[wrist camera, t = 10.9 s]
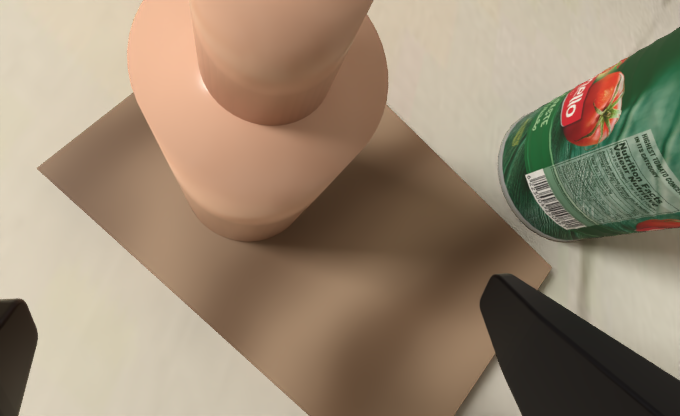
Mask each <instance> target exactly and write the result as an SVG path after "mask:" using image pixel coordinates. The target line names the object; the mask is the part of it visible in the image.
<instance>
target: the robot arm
mask: <svg viewBox="0 0 680 416" xmlns="http://www.w3.org/2000/svg"><path fill="white" fill-rule="evenodd" d="M479 303H480V311H481V314H482V317H483V319H484V322H485V325H486V328H487V331H488V334H489V336H490V339H491V342H492V345H493V348H494V351H495V353H496V356H497V359H498V362H499V364H500V367H501V370H502V372H503V375H504V377H505V379H506V381H507V384H508V386H509V388H510V390H511V392H512V394H513V397H514V399H515V401H516V403H517V405H518V407H519V409H520V412H521V414H522V416H680V381H679V380H678V379H676V378H675V377H673V376H672V375H670V374H668V373H667V372H665V371H664V370H662V369H661V368H659V367H657V366H656V365H654V364H653V363H651V362H650V361H648V360H646V359H645V358H643V357H642V356H640V355H639V354H637V353H635V352H634V351H632V350H631V349H629V348H628V347H626V346H624V345H623V344H621V343H620V342H618V341H617V340H615V339H613V338H612V337H610V336H609V335H607V334H606V333H604V332H602V331H601V330H599V329H598V328H596V327H595V326H593V325H591V324H590V323H588V322H587V321H585V320H584V319H582V318H580V317H579V316H577V315H576V314H574V313H573V312H571V311H569V310H568V309H566V308H565V307H563V306H562V305H560V304H558V303H557V302H555V301H554V300H552V299H551V298H549V297H547V296H546V295H544V294H543V293H541V292H540V291H538V290H536V289H535V288H533V287H532V286H530V285H529V284H527V283H525V282H524V281H522V280H521V279H519V278H518V277H516V276H514V275H513V274H509V273H503V274H494V275H492V276H491V277H490V279H489V281H488V283H487V285H486V287H485V289H484V291H483V294H482V296H481V298H480V302H479ZM37 340H38V333H37V328H36V326H35V323H34V321H33V318H32V316H31V313H30V311H29V308H28V306H27V304H26V302H25V301H24V300H22V299H0V416H18V415H19V411H20V407H21V403H22V400H23V396H24V392H25V388H26V384H27V380H28V376H29V373H30V369H31V365H32V361H33V357H34V353H35V349H36V346H37Z"/></svg>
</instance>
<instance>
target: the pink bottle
mask: <svg viewBox="0 0 680 416" xmlns="http://www.w3.org/2000/svg"><path fill="white" fill-rule="evenodd" d="M372 2H373V0H143V2H142V3H141V5H140V7H139V9H138V11H137V13H136V15H135V18H134V20H133V23H132V27H131V30H130V34H129V40H128V49H127V59H128V72H129V77H130V82H131V86H132V89H133V92H134V95H135V98H136V100H137V103H138V105H139V107H140V109H141V111H142V113H143V115H144V117H145V119H146V121H147V123H148V125H149V127H150V129H151V131H152V133H153V134H154V136H155V138H156V140H157V142H158V144H159V146H160V148H161V150H162V152H163V154H164V156H165V158H166V160H167V162H168V164H169V166H170V168H171V170H172V172H173V174H174V176H175V178H176V180H177V182H178V184H179V186H180V188H181V190H182V192H183V194H184V196H185V198H186V200H187V202H188V204H189V206H190V207H191V209H192V211H193V213H194V214H195V215H196V217H197V218H198V219H199V220H200V221H201V222H202V224H204V225H205V226H206V227H207V228H208V229H210V230H211V231H213V232H215V233H216V234H218V235H220V236H223V237H225V238H228V239H231V240H236V241H245V242H252V241H260V240H265V239H268V238H271V237H274V236H276V235H278V234H279V233H281V232H283V231H284V230H286V229H287V228H288V227H289V226H291V225H292V224H293V223H294V222H295V221H296V220H297V219H298V217H299V216H300V215H301V214H302V213H303V212H304V211H305V210H306V209H307V208H308V207H309V206H310V205H311V204H312V203H313V202H314V200H315V199H316V198H317V197H318V196H319V195H320V194H321V193H322V192H323V191H324V190H325V189H326V188H327V187H328V186H329V185H330V184H331V182H332V181H333V180H334V179H335V178H336V177H337V176H338V175H339V174H340V173H341V172H342V171H343V170H344V169H345V168H346V167H347V165H348V164H349V163H350V162H351V161H352V160H353V159H354V158H355V157H356V156H357V155H358V154H359V153H360V152H361V150H362V149H363V148H364V147H365V146H366V144H367V143H368V142H369V141H370V139H371V137H372V136H373V134H374V133H375V131H376V129H377V127H378V125H379V123H380V120H381V118H382V116H383V112H384V109H385V105H386V101H387V93H388V69H387V62H386V57H385V53H384V50H383V46H382V43H381V41H380V38H379V36H378V33H377V31H376V29H375V27H374V25H373V24H372V22H371V20H370V18H369V17H368V15H367V12H368V10H369V8H370V6H371V4H372Z"/></svg>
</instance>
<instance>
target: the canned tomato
mask: <svg viewBox="0 0 680 416" xmlns="http://www.w3.org/2000/svg"><path fill="white" fill-rule="evenodd" d="M498 173H499V180H500V184H501V187H502V190H503V193H504V196H505V198H506V200H507V202H508V204H509V206H510V208H511V209H512V211H513V212H514V213H515V214H516V216H517V217H518V218H519V220H520V221H522V222H523V223H524V224H525V225H526V226H527V227H528V228H529V229H531V230H532V231H534V232H535V233H537V234H539V235H540V236H543V237H545V238H548V239H551V240H555V241H562V242H569V241H578V240H581V239H586V238H598V237H604V236H616V235H621V234H631V233H637V232H646V231H653V230H663V229H669V228H680V27H679V28H677V29H676V30H674V31H673V32H672V33H670V34H668V35H666V36H664V37H662V38H660V39H658V40H656V41H655V42H654V43H652V44H651V45H649V46H647V47H645V48H643V49H641V50H639V51H637V52H636V53H635V54H633V55H632V56H630V57H628V58H625V59H623V60H621V61H620V62H619V63H617V64H616V65H614V66H612V67H610V68H608V69H606V70H604V71H603V72H602V73H600V74H598V75H596V76H594V77H592V78H590V79H589V80H588V81H586V82H584V83H582V84H580V85H578V86H577V87H575V88H574V89H572V90H570V91H568V92H566V93H564V94H563V95H562V96H560V97H557V98H555V99H554V100H552V101H551V102H549V103H547V104H545V105H543V106H542V107H540V108H539V109H537V110H535V111H534V112H531V113H529V114H527V115H525V116H523V117H521V118H520V119H519V120H518V121H516V122H515V123H514V124H513V125H512V126H511V127H510V129H509V130H508V131H507V133H506V134H505V136H504V139H503V141H502V143H501V146H500V151H499V156H498Z"/></svg>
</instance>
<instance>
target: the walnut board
mask: <svg viewBox="0 0 680 416" xmlns="http://www.w3.org/2000/svg"><path fill="white" fill-rule="evenodd" d="M37 169H38V170H39V171H40V172H41V173H42V174H43V175H44V176H45V177H47V178H48V179H49V180H50V181H51V182H52V183H53V184H54V185H55V186H57V187H58V188H59V189H60V190H61V191H62V192H63V193H64V194H65V195H66V196H68V197H69V198H70V199H71V200H72V201H73V202H74V203H75V204H76V205H77V206H79V207H80V208H81V209H82V210H83V211H84V212H85V213H86V214H87V215H88V216H90V217H91V218H92V219H93V220H94V221H95V222H96V223H97V224H98V225H100V226H101V227H102V228H103V229H104V230H105V231H106V232H107V233H108V234H109V235H111V236H112V237H113V238H114V239H115V240H116V241H117V242H118V243H119V244H120V245H122V246H123V247H124V248H125V249H126V250H127V251H128V252H129V253H130V254H132V255H133V256H134V257H135V258H136V259H137V260H138V261H139V262H140V263H141V264H143V265H144V266H145V267H146V268H147V269H148V270H149V271H150V272H151V273H152V274H154V275H155V276H156V277H157V278H158V279H159V280H160V281H161V282H162V283H163V284H165V285H166V286H167V287H168V288H169V289H170V290H171V291H172V292H173V293H175V294H176V295H177V296H178V297H179V298H180V299H181V300H182V301H183V302H184V303H186V304H187V305H188V306H189V307H190V308H191V309H192V310H193V311H194V312H195V313H197V314H198V315H199V316H200V317H201V318H202V319H203V320H204V321H205V322H207V323H208V324H209V325H210V326H211V327H212V328H213V329H214V330H215V331H216V332H218V333H219V334H220V335H221V336H222V337H223V338H224V339H225V340H226V341H227V342H229V343H230V344H231V345H232V346H233V347H234V348H235V349H236V350H237V351H238V352H240V353H241V354H242V355H243V356H244V357H245V358H246V359H247V360H248V361H250V362H251V363H252V364H253V365H254V366H255V367H256V368H257V369H258V370H259V371H261V372H262V373H263V374H264V375H265V376H266V377H267V378H268V379H269V380H270V381H272V382H273V383H274V384H275V385H276V386H277V387H278V388H279V389H280V390H281V391H283V392H284V393H285V394H286V395H287V396H288V397H289V398H290V399H291V400H293V401H294V402H295V403H296V404H297V405H298V406H299V407H300V408H301V409H302V410H304V411H305V412H306V413H307V414H308V415H309V416H454V415H455V413H456V412H457V410H458V409H459V407H460V406H461V404H462V403H463V401H464V400H465V398H466V397H467V395H468V394H469V392H470V391H471V389H472V388H473V386H474V385H475V383H476V382H477V380H478V379H479V377H480V376H481V374H482V373H483V371H484V370H485V368H486V367H487V365H488V363H489V362H490V360H491V359H492V357H493V356H494V354H495V351H494V348H493V345H492V342H491V339H490V336H489V334H488V331H487V328H486V325H485V322H484V319H483V317H482V314H481V311H480V303H479V302H480V298H481V296H482V294H483V291H484V289H485V287H486V285H487V283H488V281H489V279H490V277H491V276H492V275H494V274H503V273H509V274H513V275H514V276H516V277H518V278H519V279H521V280H522V281H524V282H525V283H527V284H529V285H530V286H532V287H533V288H535V289H536V290H538V288H539V287H540V285H541V284H542V282H543V281H544V279H545V278H546V276H547V275H548V273H549V272H550V270H551V269H552V267H551V266H550V265H549V264H548V263H547V262H546V261H545V260H544V259H543V258H542V257H541V256H540V255H539V254H538V253H537V252H536V251H535V250H534V249H533V248H532V247H531V246H530V245H529V244H528V243H527V242H526V241H525V240H524V239H523V238H522V237H521V236H520V235H518V234H517V233H516V232H515V231H514V230H513V229H512V228H511V227H510V226H509V225H508V224H507V223H506V222H505V221H504V220H503V219H502V218H501V217H500V216H499V215H498V214H497V213H496V212H495V211H494V210H493V209H492V208H491V207H490V206H489V205H488V204H487V203H486V202H485V201H484V200H483V199H482V198H481V197H480V196H479V195H478V194H477V193H476V192H475V191H474V190H473V189H472V188H471V187H470V186H469V185H468V184H467V183H466V182H465V181H464V180H462V179H461V178H460V177H459V176H458V175H457V174H456V173H455V172H454V171H453V170H452V169H451V168H450V167H449V166H448V165H447V164H446V163H445V162H444V161H443V160H442V159H441V158H440V157H439V156H438V155H437V154H436V153H435V152H434V151H433V150H432V149H431V148H430V147H429V146H428V145H427V144H426V143H425V142H424V141H423V140H422V139H421V138H420V137H419V136H418V135H417V134H416V133H415V132H414V131H413V130H412V129H411V128H410V127H409V126H408V125H406V124H405V123H404V122H403V121H402V120H401V119H400V118H399V117H398V116H397V115H396V114H395V113H394V112H393V111H392V110H391V109H390V108H389V107H388V106H387V105H385V109H384V112H383V116H382V118H381V120H380V123H379V125H378V127H377V129H376V131H375V133H374V134H373V136H372V137H371V139H370V141H369V142H368V143H367V144H366V146H365V147H364V148H363V149H362V150H361V152H360V153H359V154H358V155H357V156H356V157H355V158H354V159H353V160H352V161H351V162H350V163H349V164H348V165H347V167H346V168H345V169H344V170H343V171H342V172H341V173H340V174H339V175H338V176H337V177H336V178H335V179H334V180H333V181H332V182H331V184H330V185H329V186H328V187H327V188H326V189H325V190H324V191H323V192H322V193H321V194H320V195H319V196H318V197H317V198H316V199H315V200H314V202H313V203H312V204H311V205H310V206H309V207H308V208H307V209H306V210H305V211H304V212H303V213H302V214H301V215H300V216H299V217H298V219H297V220H296V221H295V222H294V223H293V224H292V225H291V226H289V227H288V228H287V229H286V230H284V231H283V232H281V233H279V234H278V235H276V236H274V237H271V238H268V239H265V240H260V241H252V242H245V241H236V240H231V239H228V238H225V237H223V236H220V235H218V234H216V233H215V232H213V231H211V230H210V229H208V228H207V227H206V226H205V225H204V224H202V222H201V221H200V220H199V219H198V218H197V217H196V215H195V214H194V213H193V211H192V209H191V207H190V206H189V204H188V202H187V200H186V198H185V196H184V194H183V192H182V190H181V188H180V186H179V184H178V182H177V180H176V178H175V176H174V174H173V172H172V170H171V168H170V166H169V164H168V162H167V160H166V158H165V156H164V154H163V152H162V150H161V148H160V146H159V144H158V142H157V140H156V138H155V136H154V134H153V133H152V131H151V129H150V127H149V125H148V123H147V121H146V119H145V117H144V115H143V113H142V111H141V109H140V107H139V105H138V103H137V100H136V98H135V95H134V92H133V93H132V94H131V95H130V96H128V97H127V98H126V99H124V100H123V101H122V102H121V103H119V104H118V105H117V106H115V107H114V108H113V109H112V110H110V111H109V112H108V113H107V114H105V115H104V116H103V117H101V118H100V119H99V120H98V121H96V122H95V123H94V124H92V125H91V126H90V127H89V128H87V129H86V130H85V131H84V132H82V133H81V134H80V135H78V136H77V137H76V138H75V139H73V140H72V141H71V142H69V143H68V144H67V145H66V146H64V147H63V148H62V149H61V150H59V151H58V152H57V153H55V154H54V155H53V156H52V157H50V158H49V159H48V160H47V161H45V162H44V163H43V164H41V165H40V166H39V167H38V168H37Z"/></svg>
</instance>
